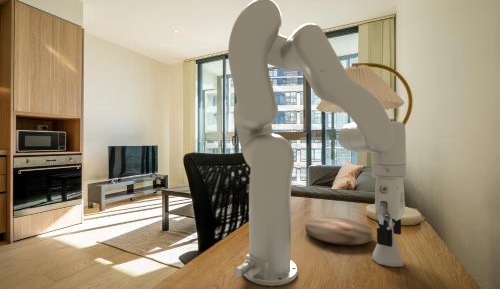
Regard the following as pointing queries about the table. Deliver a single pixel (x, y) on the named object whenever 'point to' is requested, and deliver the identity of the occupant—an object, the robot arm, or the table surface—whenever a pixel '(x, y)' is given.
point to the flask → (388, 253)
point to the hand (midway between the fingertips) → (389, 238)
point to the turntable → (339, 230)
